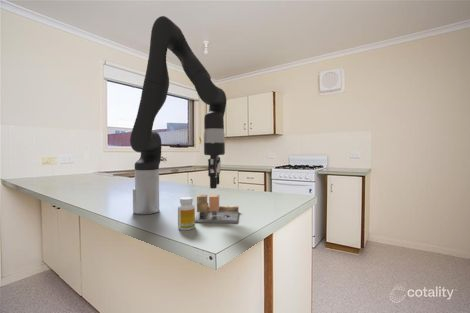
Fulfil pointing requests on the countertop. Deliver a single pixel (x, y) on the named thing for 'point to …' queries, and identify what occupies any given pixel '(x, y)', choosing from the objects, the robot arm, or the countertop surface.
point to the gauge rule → (203, 206)
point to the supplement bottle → (186, 214)
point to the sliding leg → (214, 204)
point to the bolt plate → (218, 217)
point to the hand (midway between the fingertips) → (215, 186)
